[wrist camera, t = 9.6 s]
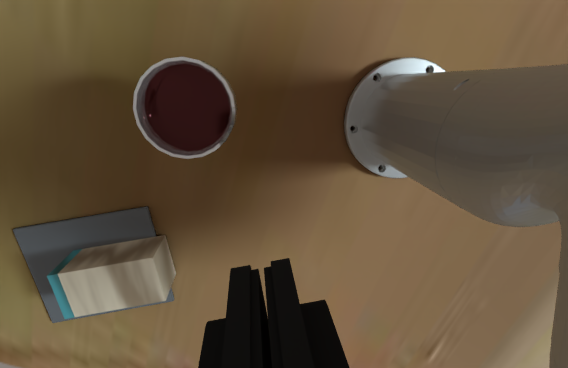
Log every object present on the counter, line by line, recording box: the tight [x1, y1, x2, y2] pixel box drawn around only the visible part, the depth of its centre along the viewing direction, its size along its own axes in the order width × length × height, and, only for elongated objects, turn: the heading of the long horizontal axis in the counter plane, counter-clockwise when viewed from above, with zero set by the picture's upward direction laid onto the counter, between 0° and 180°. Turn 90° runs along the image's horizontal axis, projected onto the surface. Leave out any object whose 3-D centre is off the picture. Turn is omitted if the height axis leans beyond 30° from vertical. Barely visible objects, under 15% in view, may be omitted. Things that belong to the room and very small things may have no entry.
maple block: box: [47, 235, 176, 319], centre depth 35 cm, size 5×5×10 cm
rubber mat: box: [13, 206, 174, 323], centre depth 37 cm, size 14×12×1 cm
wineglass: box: [133, 57, 237, 159], centre depth 28 cm, size 7×7×12 cm
